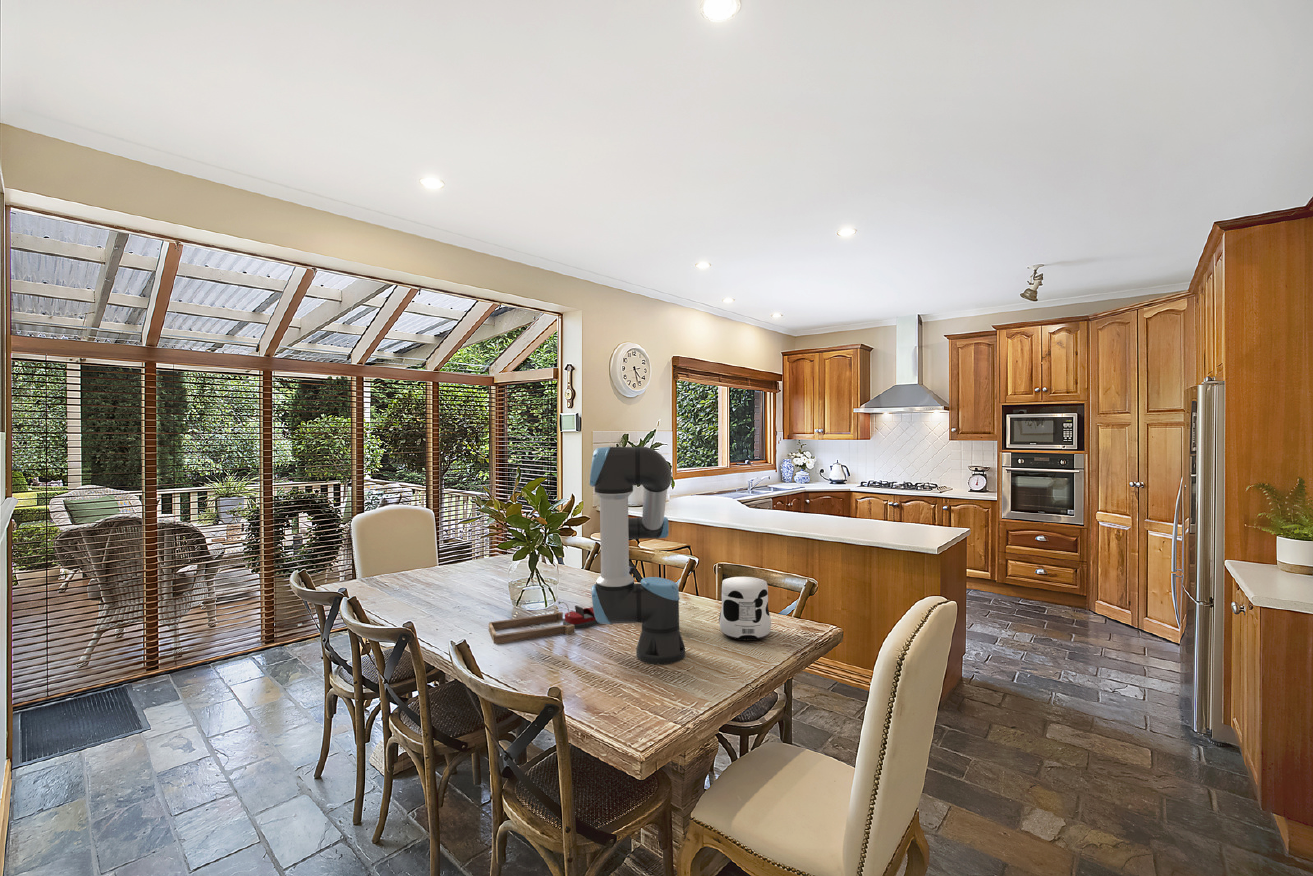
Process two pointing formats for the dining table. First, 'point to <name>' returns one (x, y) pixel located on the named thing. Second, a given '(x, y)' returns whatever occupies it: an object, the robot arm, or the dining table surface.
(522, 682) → the dining table surface
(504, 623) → the cradle
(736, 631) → the milk container
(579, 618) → the bumper car
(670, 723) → the dining table surface
